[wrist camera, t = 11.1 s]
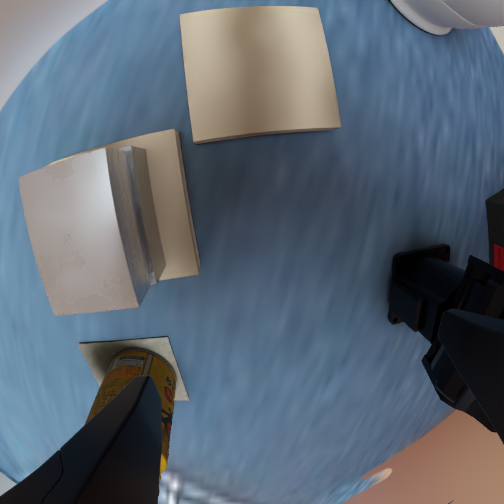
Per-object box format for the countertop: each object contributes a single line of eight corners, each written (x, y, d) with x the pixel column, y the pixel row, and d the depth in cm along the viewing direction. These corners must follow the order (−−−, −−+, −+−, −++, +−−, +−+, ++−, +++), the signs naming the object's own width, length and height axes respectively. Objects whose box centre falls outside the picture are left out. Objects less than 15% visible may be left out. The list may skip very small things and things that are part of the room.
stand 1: (178, 132, 17) (174, 128, 15) (200, 263, 20) (198, 274, 18) (61, 163, 16) (47, 164, 14) (87, 281, 19) (76, 292, 17)
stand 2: (309, 19, 15) (317, 8, 13) (329, 130, 18) (340, 127, 16) (182, 27, 15) (179, 14, 13) (196, 144, 17) (193, 141, 15)
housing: (145, 148, 15) (109, 141, 10) (166, 265, 17) (144, 310, 12) (71, 168, 15) (15, 174, 9) (94, 275, 17) (53, 319, 11)
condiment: (189, 398, 23) (185, 514, 12) (108, 401, 23) (78, 500, 11) (168, 335, 21) (141, 465, 10) (78, 341, 21) (19, 444, 9)
